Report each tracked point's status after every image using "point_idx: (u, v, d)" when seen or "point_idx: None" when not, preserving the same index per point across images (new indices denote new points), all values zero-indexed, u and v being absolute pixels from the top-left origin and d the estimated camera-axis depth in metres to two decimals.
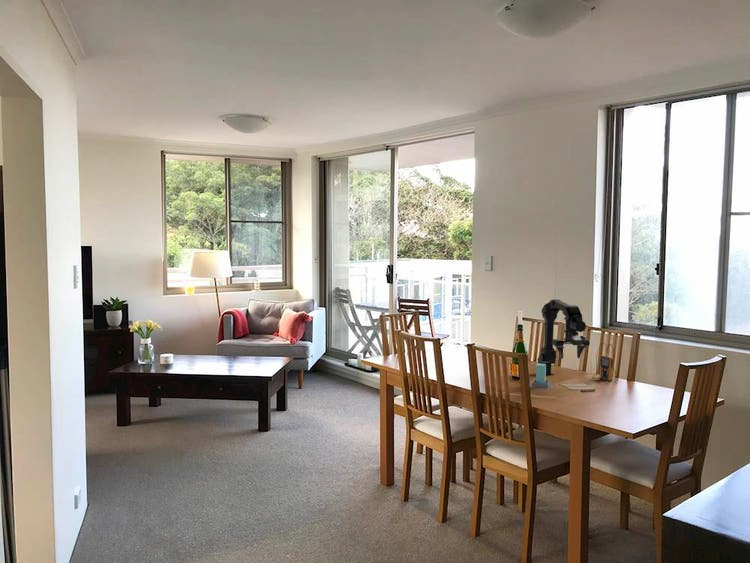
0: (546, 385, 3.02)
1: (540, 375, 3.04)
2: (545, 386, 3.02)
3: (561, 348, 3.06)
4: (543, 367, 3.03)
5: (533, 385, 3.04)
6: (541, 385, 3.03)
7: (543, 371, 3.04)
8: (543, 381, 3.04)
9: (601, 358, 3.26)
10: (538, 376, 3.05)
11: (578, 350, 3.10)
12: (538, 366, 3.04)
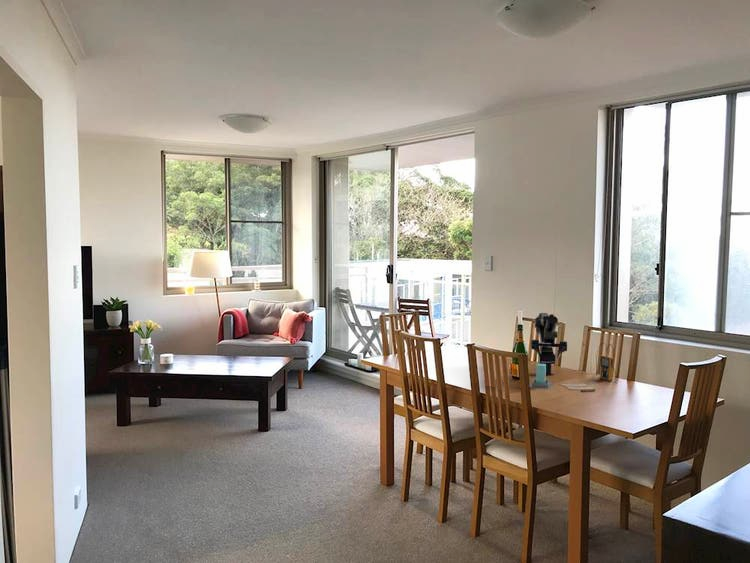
0: (546, 385, 3.02)
1: (540, 375, 3.04)
2: (545, 386, 3.02)
3: (537, 346, 3.19)
4: (543, 367, 3.03)
5: (533, 385, 3.04)
6: (541, 385, 3.03)
7: (543, 371, 3.04)
8: (543, 381, 3.04)
9: (601, 358, 3.26)
10: (538, 376, 3.05)
11: (558, 352, 3.16)
12: (538, 366, 3.04)
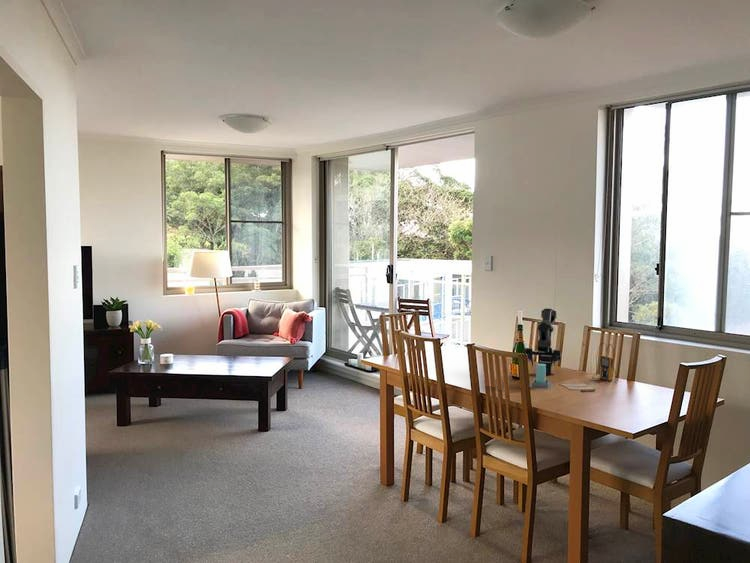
0: (546, 385, 3.02)
1: (540, 375, 3.04)
2: (545, 386, 3.02)
3: (530, 354, 3.13)
4: (543, 367, 3.03)
5: (533, 385, 3.04)
6: (541, 385, 3.03)
7: (543, 371, 3.04)
8: (543, 381, 3.04)
9: (601, 358, 3.26)
10: (538, 376, 3.05)
11: (551, 361, 3.10)
12: (538, 366, 3.04)
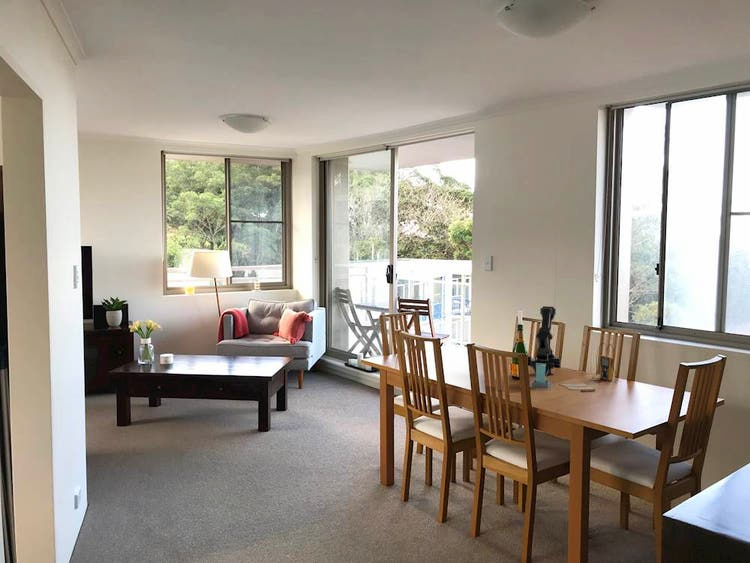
0: (546, 385, 3.02)
1: (540, 375, 3.04)
2: (545, 386, 3.02)
3: (533, 363, 3.09)
4: (543, 367, 3.03)
5: (533, 385, 3.04)
6: (541, 385, 3.03)
7: (543, 371, 3.04)
8: (543, 381, 3.04)
9: (601, 358, 3.26)
10: (538, 376, 3.05)
11: (546, 369, 3.07)
12: (538, 366, 3.04)
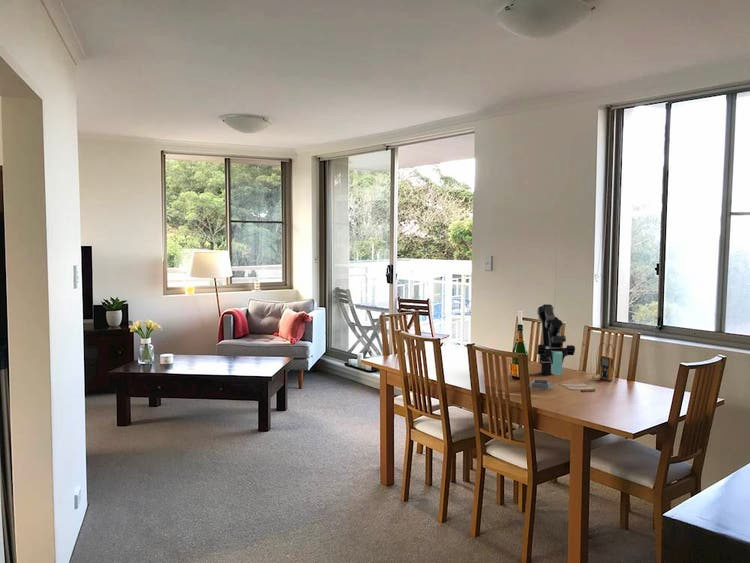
0: (546, 385, 3.02)
1: (557, 363, 3.01)
2: (545, 386, 3.02)
3: (549, 351, 3.05)
4: (560, 355, 3.01)
5: (533, 385, 3.04)
6: (541, 385, 3.03)
7: (560, 359, 3.01)
8: (560, 369, 3.01)
9: (601, 358, 3.26)
10: (555, 364, 3.02)
11: None
12: (555, 354, 3.01)
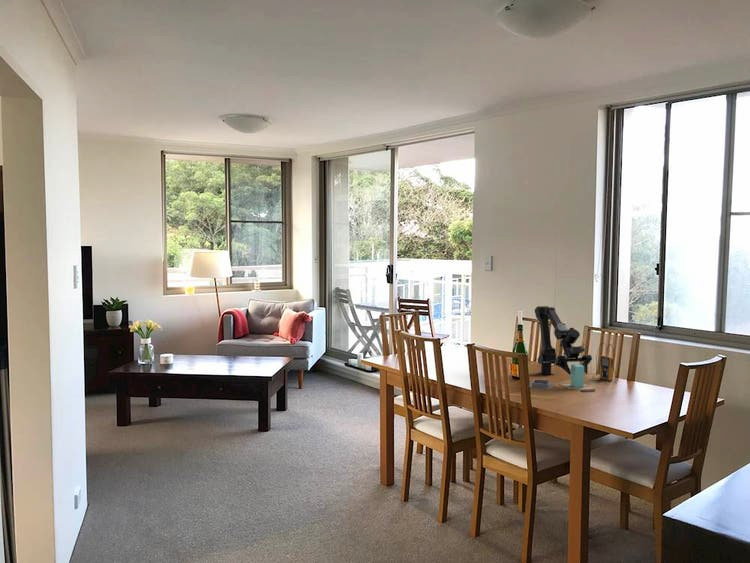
0: (546, 385, 3.02)
1: (579, 376, 3.01)
2: (545, 386, 3.02)
3: (565, 362, 3.04)
4: (582, 368, 3.01)
5: (533, 385, 3.04)
6: (541, 385, 3.03)
7: (582, 372, 3.02)
8: (582, 382, 3.02)
9: (601, 358, 3.26)
10: (577, 377, 3.01)
11: (584, 367, 3.06)
12: (578, 367, 3.01)
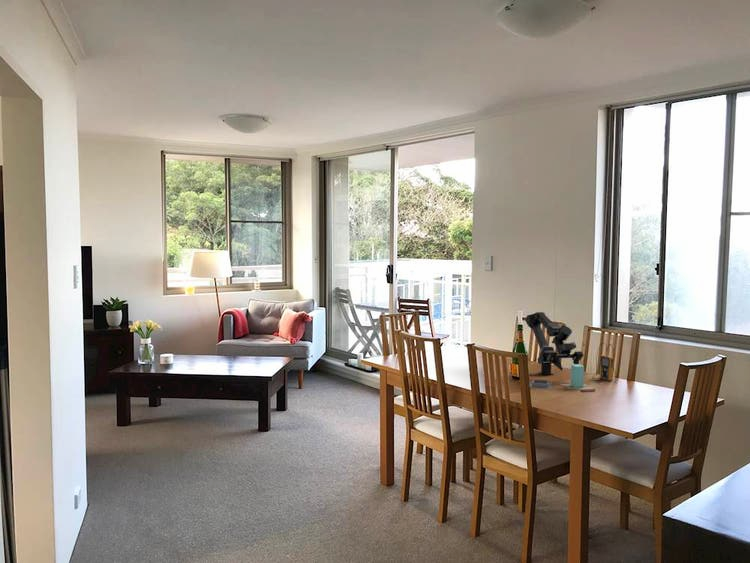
0: (546, 385, 3.02)
1: (579, 376, 3.01)
2: (545, 386, 3.02)
3: (557, 358, 3.13)
4: (582, 368, 3.01)
5: (533, 385, 3.04)
6: (541, 385, 3.03)
7: (582, 372, 3.02)
8: (582, 382, 3.02)
9: (601, 358, 3.26)
10: (577, 377, 3.01)
11: (575, 363, 3.15)
12: (578, 367, 3.01)
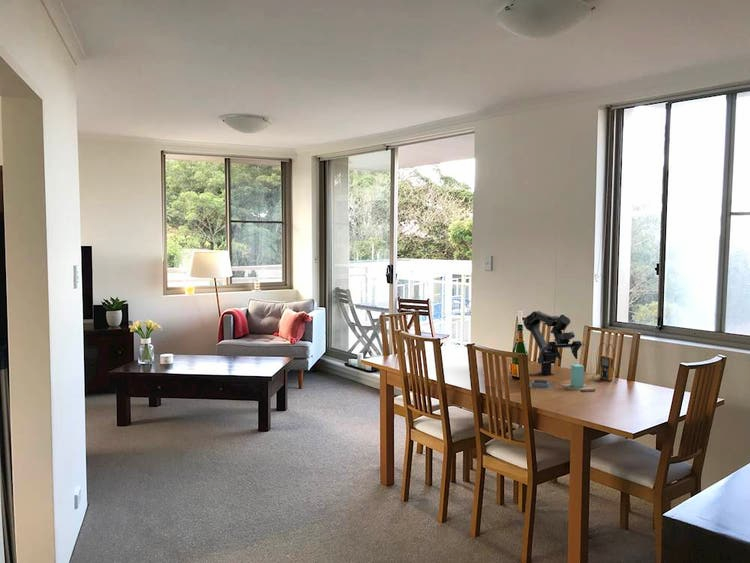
0: (546, 385, 3.02)
1: (579, 376, 3.01)
2: (545, 386, 3.02)
3: (555, 348, 3.14)
4: (582, 368, 3.01)
5: (533, 385, 3.04)
6: (541, 385, 3.03)
7: (582, 372, 3.02)
8: (582, 382, 3.02)
9: (601, 358, 3.26)
10: (577, 377, 3.01)
11: (574, 352, 3.17)
12: (578, 367, 3.01)
